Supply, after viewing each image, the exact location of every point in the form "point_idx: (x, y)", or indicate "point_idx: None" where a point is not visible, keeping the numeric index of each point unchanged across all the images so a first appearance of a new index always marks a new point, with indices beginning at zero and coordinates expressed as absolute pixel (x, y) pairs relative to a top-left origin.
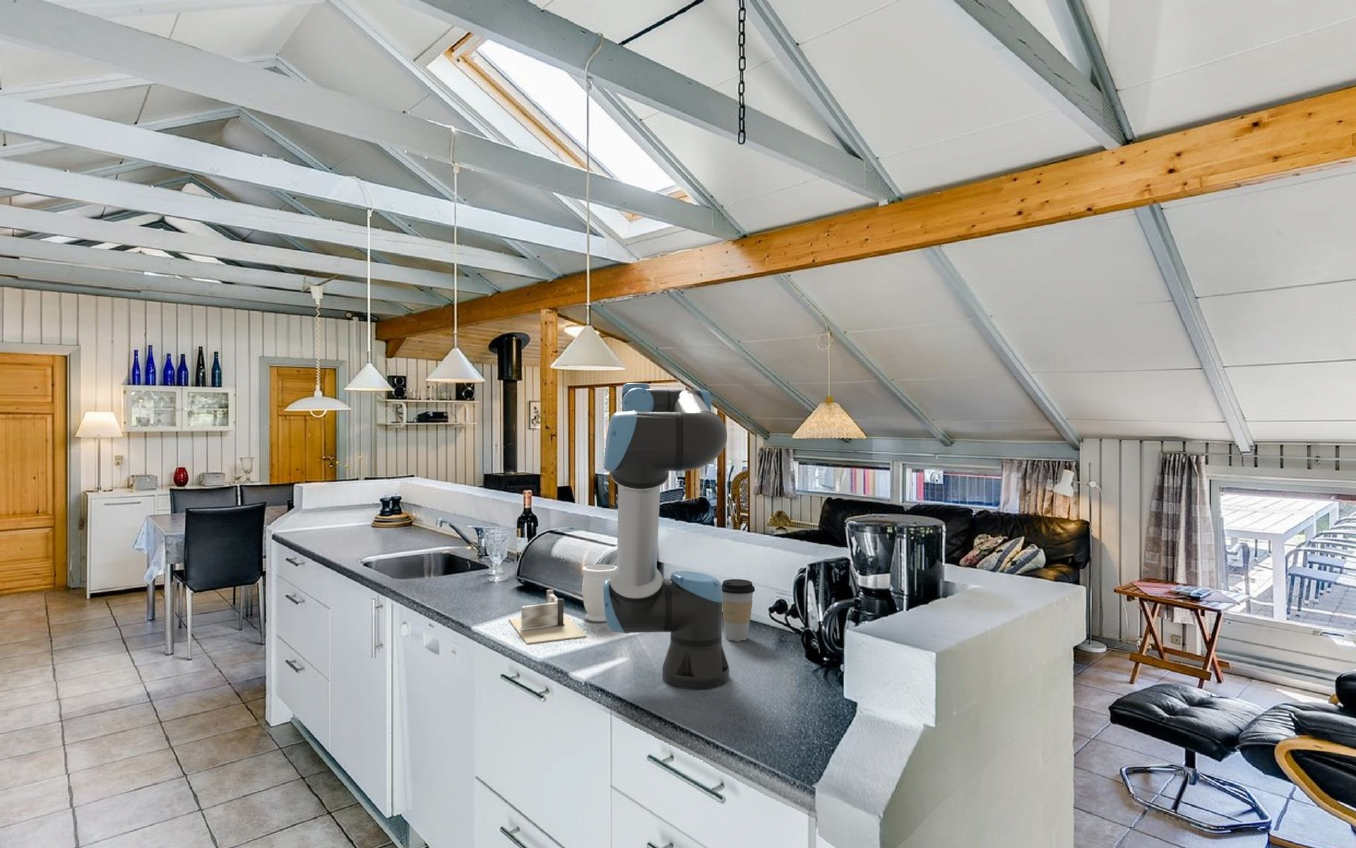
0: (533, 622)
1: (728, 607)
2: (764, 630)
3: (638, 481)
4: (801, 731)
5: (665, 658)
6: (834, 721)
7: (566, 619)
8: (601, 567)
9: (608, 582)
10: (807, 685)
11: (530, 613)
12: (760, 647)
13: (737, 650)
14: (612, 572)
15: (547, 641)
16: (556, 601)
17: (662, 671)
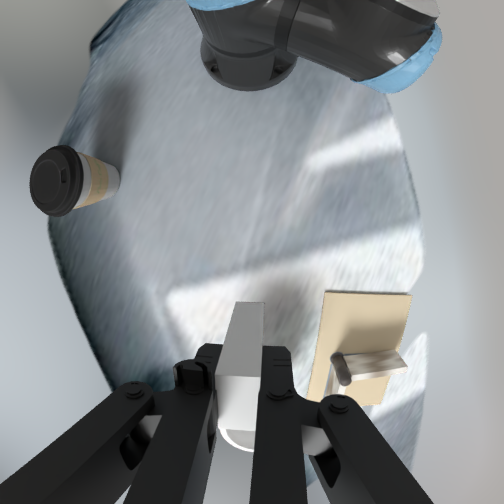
0: (383, 355)
1: (94, 167)
2: None
3: None
4: None
5: (291, 55)
6: None
7: (314, 380)
8: (244, 444)
9: (435, 27)
10: (145, 5)
11: (392, 362)
12: (100, 130)
13: (133, 127)
14: (438, 13)
15: (384, 294)
16: (345, 387)
17: (295, 62)
